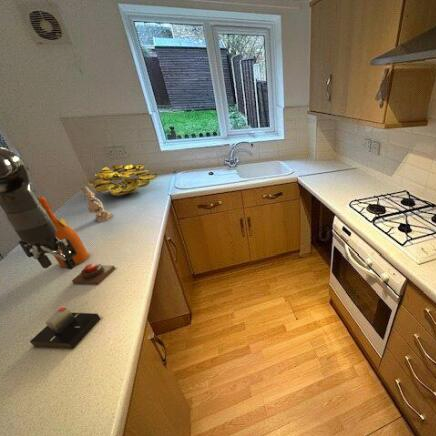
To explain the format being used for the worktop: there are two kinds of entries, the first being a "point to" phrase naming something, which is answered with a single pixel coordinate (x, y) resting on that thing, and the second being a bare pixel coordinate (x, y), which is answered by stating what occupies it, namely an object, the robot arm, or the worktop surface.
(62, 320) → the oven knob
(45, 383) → the worktop surface
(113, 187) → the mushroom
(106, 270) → the button block
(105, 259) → the worktop surface
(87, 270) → the button
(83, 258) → the wine bottle
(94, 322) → the panel
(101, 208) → the figurine
